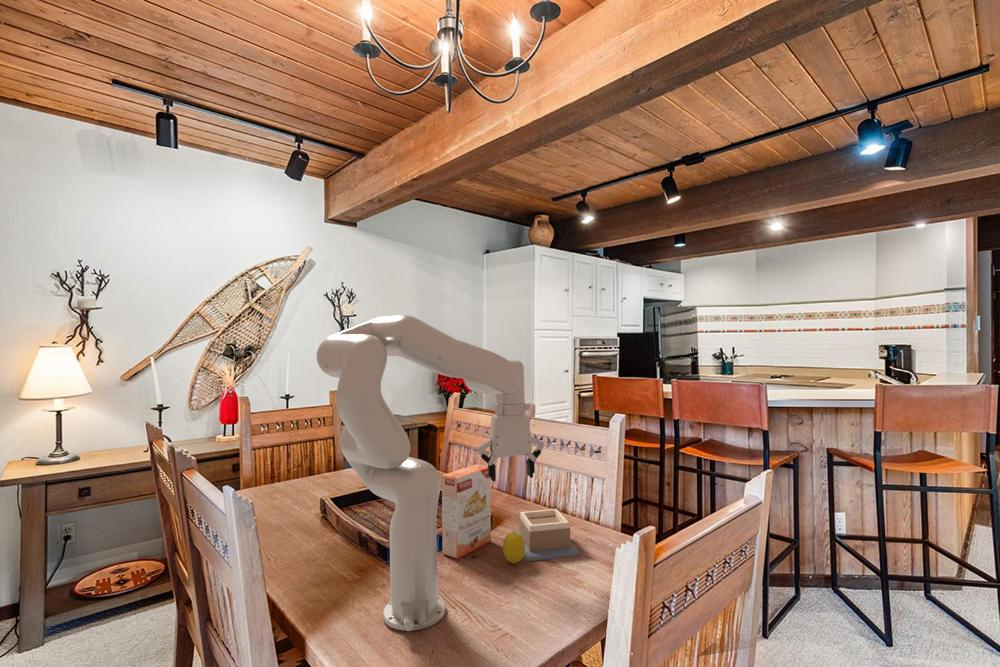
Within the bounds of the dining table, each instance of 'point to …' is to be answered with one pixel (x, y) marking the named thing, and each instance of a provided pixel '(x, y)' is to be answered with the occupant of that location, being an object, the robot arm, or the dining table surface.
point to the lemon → (513, 547)
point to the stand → (546, 535)
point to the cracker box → (466, 510)
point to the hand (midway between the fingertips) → (511, 478)
